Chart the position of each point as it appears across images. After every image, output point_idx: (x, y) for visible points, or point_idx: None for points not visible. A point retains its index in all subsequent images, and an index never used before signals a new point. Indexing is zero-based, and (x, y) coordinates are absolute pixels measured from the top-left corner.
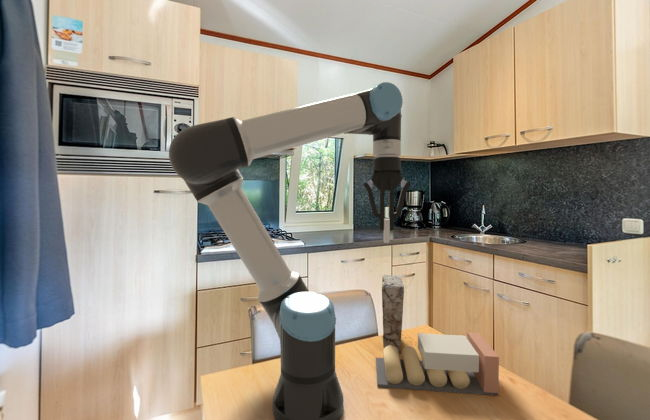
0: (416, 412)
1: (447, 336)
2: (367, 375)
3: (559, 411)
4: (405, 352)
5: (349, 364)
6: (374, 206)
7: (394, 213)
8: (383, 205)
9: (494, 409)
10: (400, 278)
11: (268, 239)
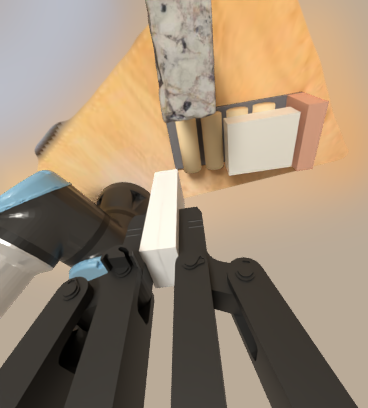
0: (211, 189)
1: (270, 123)
2: (162, 152)
3: (336, 157)
4: (205, 130)
5: (136, 137)
6: (69, 389)
7: (219, 309)
8: (137, 396)
9: (277, 170)
10: (209, 19)
11: None
